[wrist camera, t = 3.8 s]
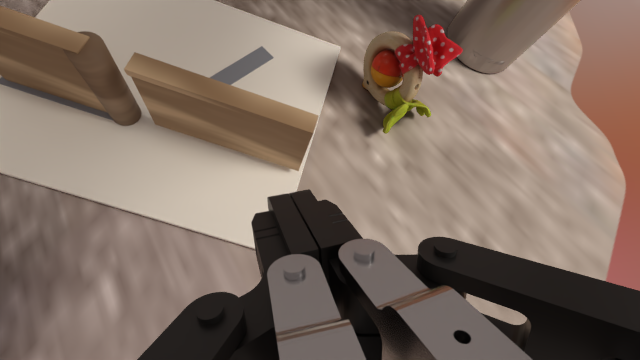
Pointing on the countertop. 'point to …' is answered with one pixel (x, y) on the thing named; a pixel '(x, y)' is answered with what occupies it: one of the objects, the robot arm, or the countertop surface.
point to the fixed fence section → (64, 65)
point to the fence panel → (222, 112)
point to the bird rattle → (405, 66)
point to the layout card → (158, 142)
